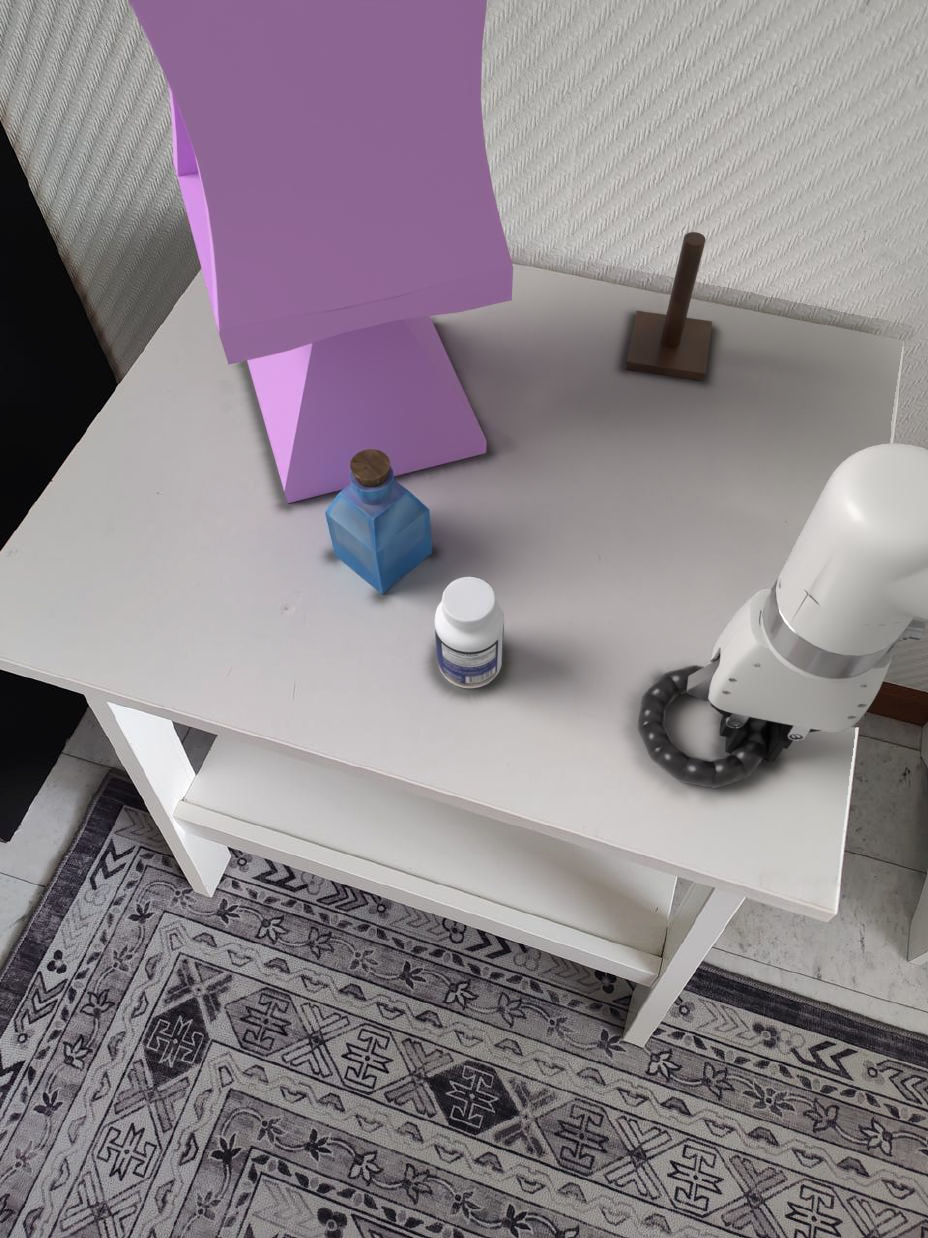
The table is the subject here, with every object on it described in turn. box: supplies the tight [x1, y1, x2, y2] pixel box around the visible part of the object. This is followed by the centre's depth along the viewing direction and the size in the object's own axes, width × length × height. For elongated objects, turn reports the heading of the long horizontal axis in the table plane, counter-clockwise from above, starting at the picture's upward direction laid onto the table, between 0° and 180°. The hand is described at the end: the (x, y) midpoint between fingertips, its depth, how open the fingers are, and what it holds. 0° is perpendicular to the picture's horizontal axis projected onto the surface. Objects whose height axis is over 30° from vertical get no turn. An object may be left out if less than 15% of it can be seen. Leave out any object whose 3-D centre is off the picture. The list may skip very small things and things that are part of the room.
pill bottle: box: [434, 576, 505, 689], centre depth 69 cm, size 5×5×10 cm
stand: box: [625, 231, 713, 381], centre depth 87 cm, size 8×8×13 cm
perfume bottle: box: [324, 449, 433, 596], centre depth 74 cm, size 6×6×12 cm
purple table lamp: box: [128, 0, 514, 504], centre depth 70 cm, size 22×22×45 cm
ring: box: [637, 664, 770, 789], centre depth 69 cm, size 10×10×2 cm
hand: (750, 738), depth 69 cm, fingers closed on ring, 2 cm apart
